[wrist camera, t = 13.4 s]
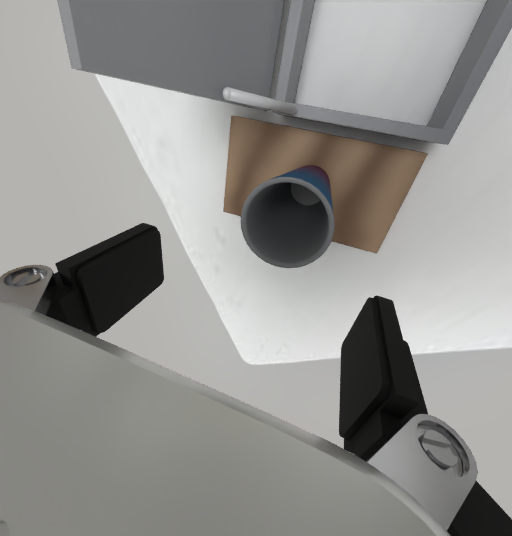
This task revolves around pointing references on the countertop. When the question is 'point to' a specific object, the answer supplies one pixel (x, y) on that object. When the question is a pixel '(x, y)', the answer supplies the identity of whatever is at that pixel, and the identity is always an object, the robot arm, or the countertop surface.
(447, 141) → the equipment case
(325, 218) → the cup
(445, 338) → the countertop surface
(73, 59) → the case lid
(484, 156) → the countertop surface
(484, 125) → the countertop surface
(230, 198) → the walnut board
